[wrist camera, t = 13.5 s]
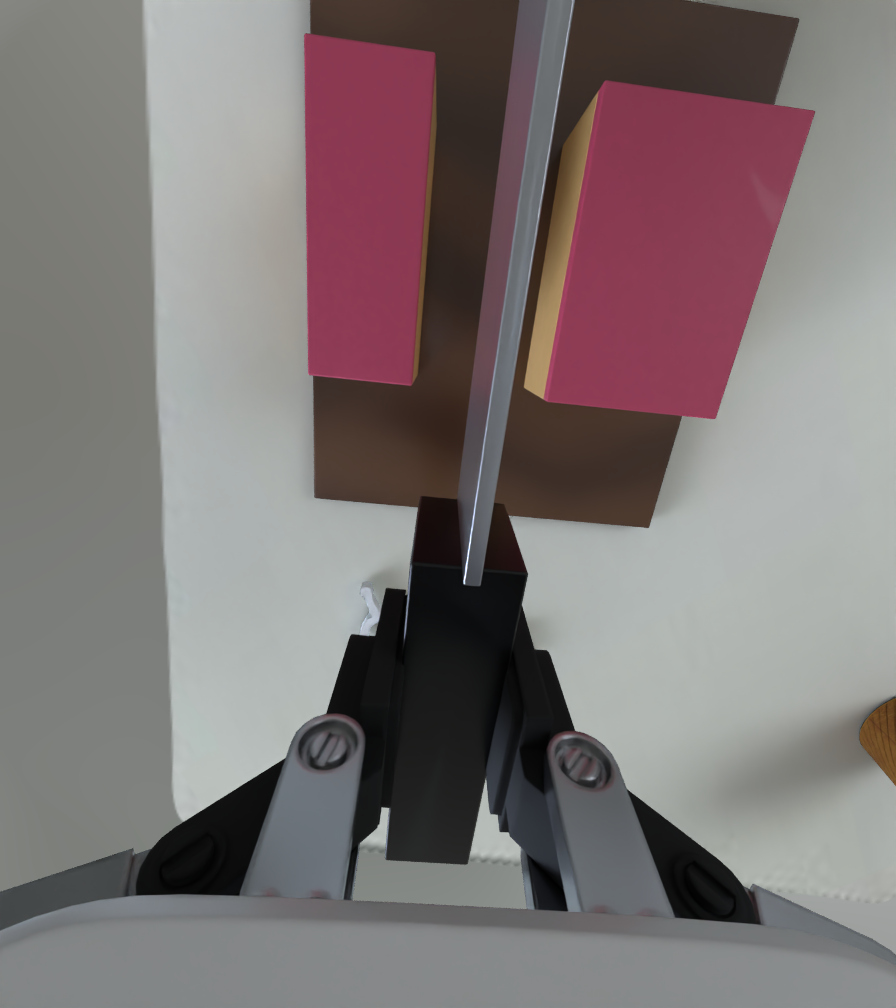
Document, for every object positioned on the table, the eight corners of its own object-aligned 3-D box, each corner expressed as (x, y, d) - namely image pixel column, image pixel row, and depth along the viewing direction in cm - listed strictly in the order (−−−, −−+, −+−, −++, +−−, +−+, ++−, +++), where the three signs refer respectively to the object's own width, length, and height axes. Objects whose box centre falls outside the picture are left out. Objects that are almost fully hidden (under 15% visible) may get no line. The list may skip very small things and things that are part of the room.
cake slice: (339, 111, 18) (303, 31, 13) (436, 125, 18) (435, 50, 13) (336, 366, 21) (307, 375, 17) (417, 375, 21) (411, 386, 17)
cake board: (314, -43, 17) (308, -61, 16) (785, 30, 18) (801, 17, 17) (317, 493, 24) (313, 498, 24) (643, 522, 26) (649, 528, 25)
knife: (496, -366, 6) (580, -1453, 2) (649, -335, 6) (959, -1327, 2) (397, 744, 14) (381, 888, 11) (462, 748, 15) (469, 893, 11)
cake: (562, 144, 18) (604, 78, 14) (722, 166, 19) (816, 110, 14) (523, 387, 22) (546, 401, 17) (657, 402, 22) (715, 419, 18)
